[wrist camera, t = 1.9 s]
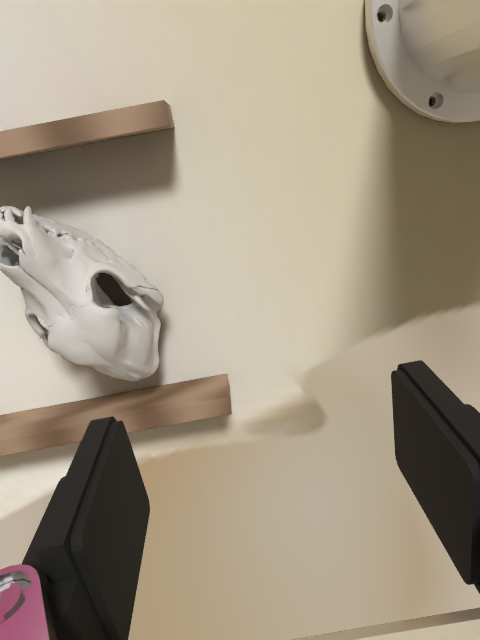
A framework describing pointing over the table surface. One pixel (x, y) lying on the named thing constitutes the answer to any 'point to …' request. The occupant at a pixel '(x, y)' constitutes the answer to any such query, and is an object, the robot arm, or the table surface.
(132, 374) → the skull
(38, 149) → the bay
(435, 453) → the robot arm
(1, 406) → the table surface
